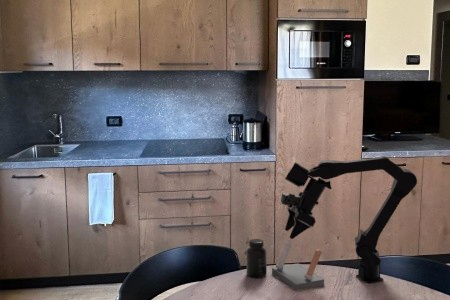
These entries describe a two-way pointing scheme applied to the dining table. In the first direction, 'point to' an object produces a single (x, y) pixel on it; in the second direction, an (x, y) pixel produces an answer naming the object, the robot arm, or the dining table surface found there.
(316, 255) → the terracotta lever
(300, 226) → the robot arm
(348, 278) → the dining table surface
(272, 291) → the dining table surface
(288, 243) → the pale grey lever
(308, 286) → the switch panel
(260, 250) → the supplement bottle
